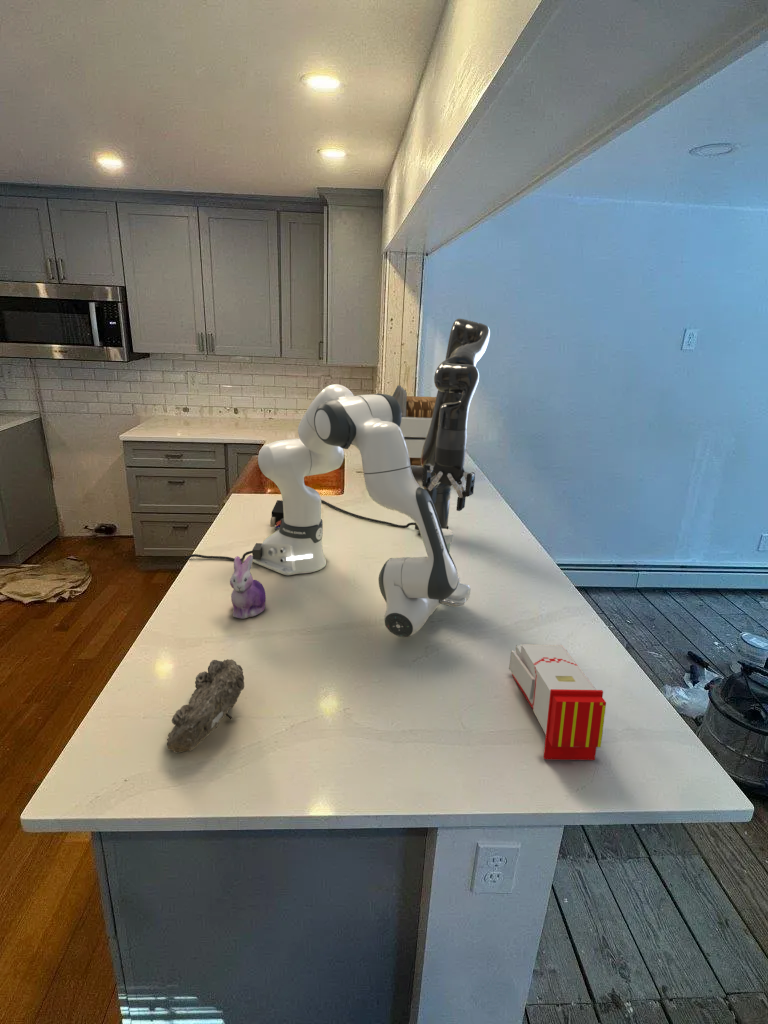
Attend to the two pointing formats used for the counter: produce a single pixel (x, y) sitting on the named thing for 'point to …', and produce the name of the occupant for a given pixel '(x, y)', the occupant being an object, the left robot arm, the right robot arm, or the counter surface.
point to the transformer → (414, 421)
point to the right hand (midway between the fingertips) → (445, 506)
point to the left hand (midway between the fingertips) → (440, 575)
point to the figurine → (246, 590)
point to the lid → (448, 535)
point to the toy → (560, 700)
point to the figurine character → (277, 514)
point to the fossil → (206, 705)
